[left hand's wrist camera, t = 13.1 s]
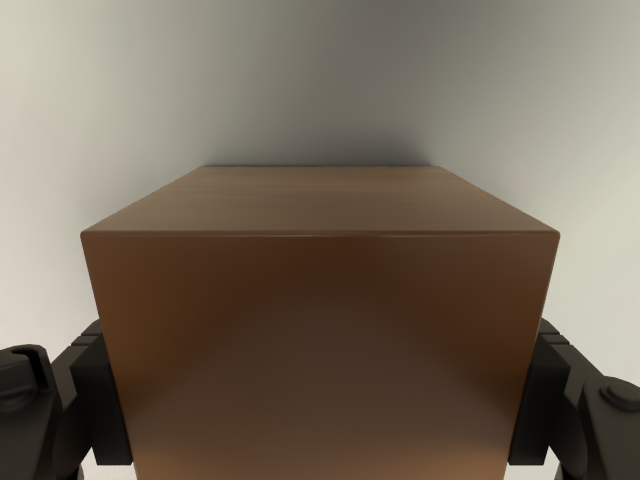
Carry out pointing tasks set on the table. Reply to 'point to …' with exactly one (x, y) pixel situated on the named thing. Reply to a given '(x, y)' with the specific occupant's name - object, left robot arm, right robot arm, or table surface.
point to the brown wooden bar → (320, 323)
